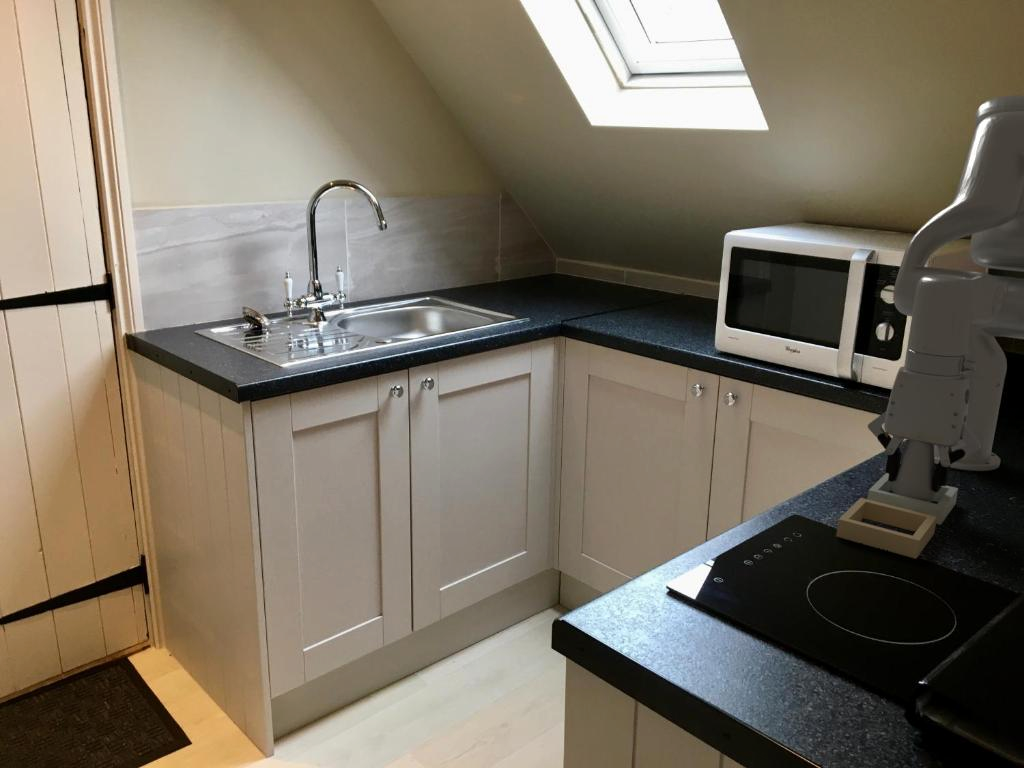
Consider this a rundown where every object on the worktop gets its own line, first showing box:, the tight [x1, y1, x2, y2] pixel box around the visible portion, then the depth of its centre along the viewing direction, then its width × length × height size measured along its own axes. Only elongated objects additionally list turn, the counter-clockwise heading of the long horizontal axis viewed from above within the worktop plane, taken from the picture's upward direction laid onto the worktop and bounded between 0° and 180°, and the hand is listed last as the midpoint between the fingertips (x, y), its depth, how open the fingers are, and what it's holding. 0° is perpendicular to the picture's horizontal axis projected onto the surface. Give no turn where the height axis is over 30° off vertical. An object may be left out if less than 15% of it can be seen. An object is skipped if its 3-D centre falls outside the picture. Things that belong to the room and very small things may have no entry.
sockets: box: [836, 472, 959, 559], centre depth 120 cm, size 24×10×2 cm, turn 142°
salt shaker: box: [892, 433, 936, 503], centre depth 124 cm, size 6×6×13 cm
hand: (914, 482), depth 125 cm, fingers open, 5 cm apart
